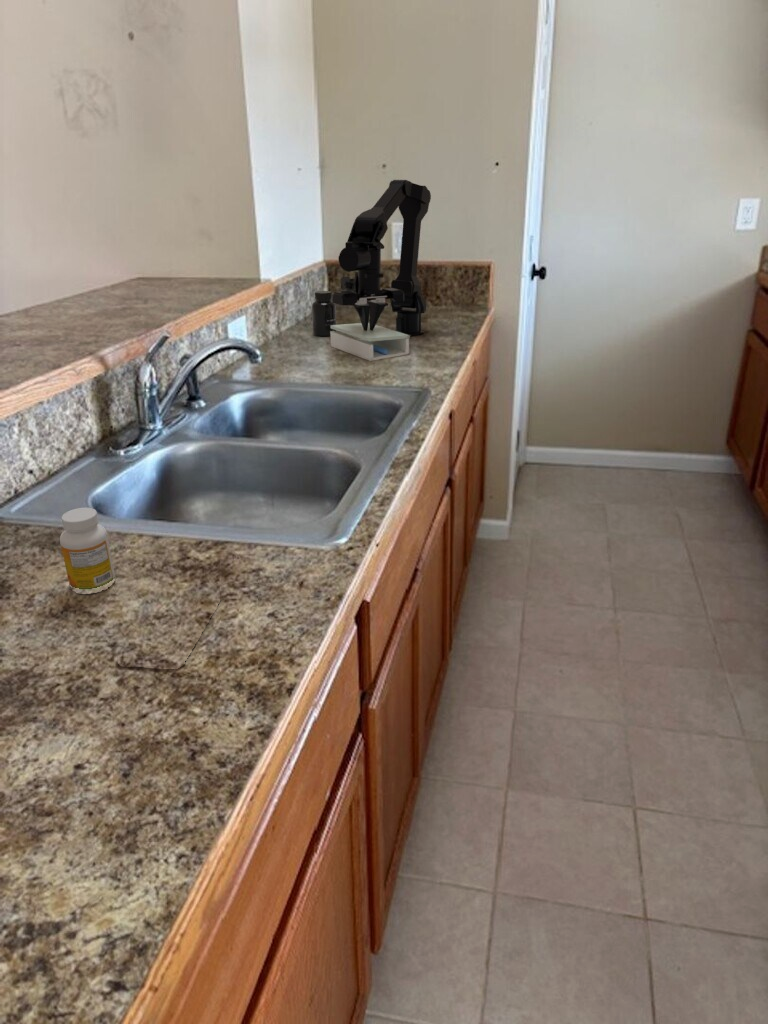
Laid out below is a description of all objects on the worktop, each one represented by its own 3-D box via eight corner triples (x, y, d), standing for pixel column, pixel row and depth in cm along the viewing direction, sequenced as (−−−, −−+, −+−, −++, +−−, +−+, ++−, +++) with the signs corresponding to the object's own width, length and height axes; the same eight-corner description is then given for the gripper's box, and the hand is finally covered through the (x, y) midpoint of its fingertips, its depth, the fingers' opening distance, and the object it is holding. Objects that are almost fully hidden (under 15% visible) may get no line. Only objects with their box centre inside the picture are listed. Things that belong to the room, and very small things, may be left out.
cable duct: (368, 340, 214) (367, 325, 213) (409, 354, 199) (409, 338, 197) (330, 346, 208) (330, 331, 207) (370, 361, 193) (369, 345, 192)
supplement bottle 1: (77, 575, 98) (62, 505, 93) (120, 572, 98) (107, 503, 94) (65, 597, 93) (48, 525, 89) (110, 594, 93) (96, 523, 89)
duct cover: (369, 325, 213) (369, 322, 212) (409, 338, 198) (410, 335, 197) (330, 328, 206) (330, 325, 206) (369, 341, 191) (369, 338, 191)
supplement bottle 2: (333, 337, 218) (331, 294, 213) (310, 336, 220) (307, 293, 214) (339, 332, 224) (337, 290, 219) (316, 331, 226) (314, 289, 221)
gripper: (382, 264, 206) (381, 322, 212) (321, 266, 197) (322, 328, 203) (406, 268, 197) (404, 329, 204) (343, 271, 188) (343, 335, 194)
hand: (368, 330), depth 201 cm, fingers closed on duct cover
